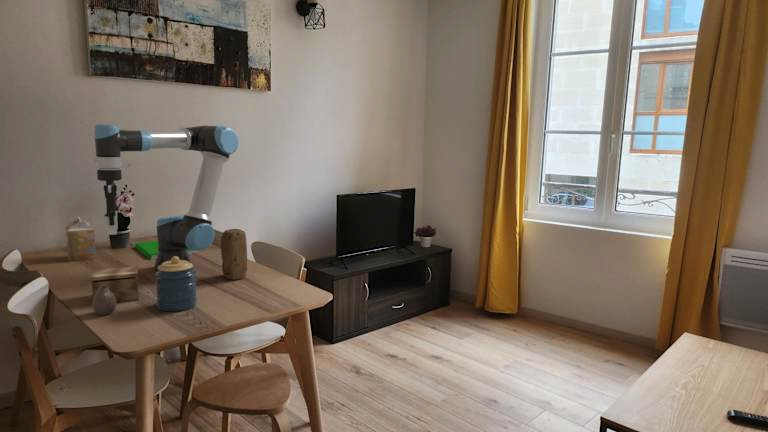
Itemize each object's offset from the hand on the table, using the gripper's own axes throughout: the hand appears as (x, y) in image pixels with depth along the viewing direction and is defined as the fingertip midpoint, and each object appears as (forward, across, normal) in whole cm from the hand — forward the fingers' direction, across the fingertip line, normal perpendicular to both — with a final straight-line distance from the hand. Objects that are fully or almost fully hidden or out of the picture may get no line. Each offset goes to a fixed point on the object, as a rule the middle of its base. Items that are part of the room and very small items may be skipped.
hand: (113, 231), depth 180 cm
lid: (+15, +3, 0) cm, 15 cm away
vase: (+24, +19, -3) cm, 31 cm away
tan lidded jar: (+24, -63, -16) cm, 69 cm away
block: (+24, -8, +43) cm, 50 cm away
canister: (+24, +20, +19) cm, 36 cm away
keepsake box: (+24, +3, 0) cm, 24 cm away
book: (+24, -66, +20) cm, 73 cm away
